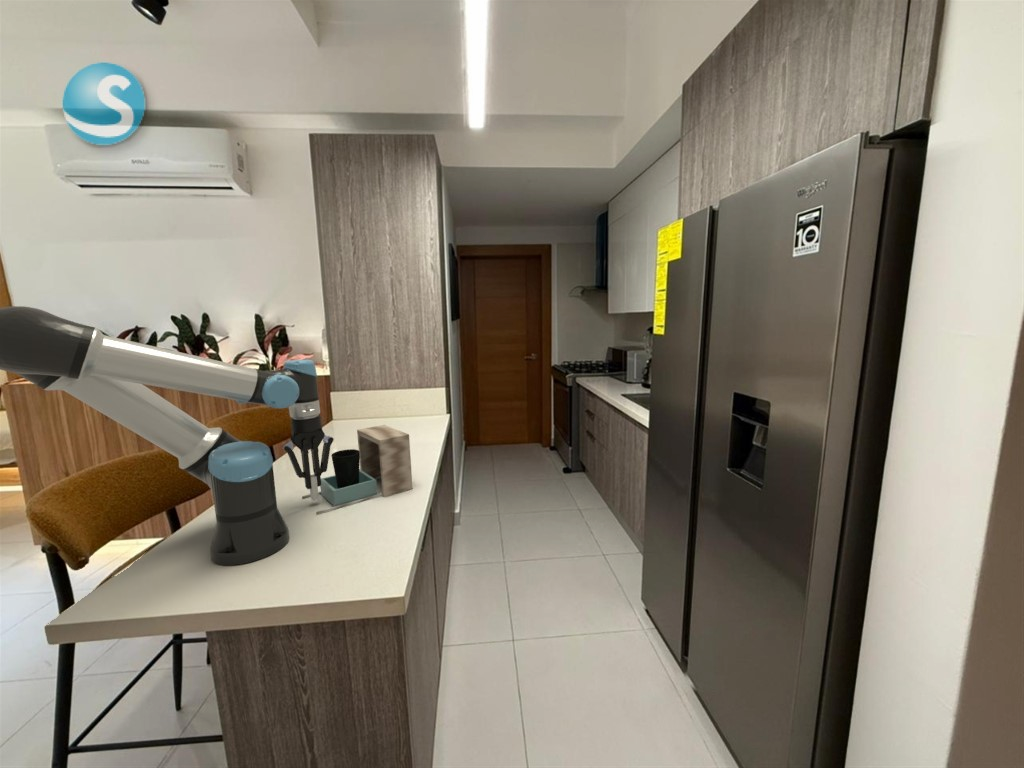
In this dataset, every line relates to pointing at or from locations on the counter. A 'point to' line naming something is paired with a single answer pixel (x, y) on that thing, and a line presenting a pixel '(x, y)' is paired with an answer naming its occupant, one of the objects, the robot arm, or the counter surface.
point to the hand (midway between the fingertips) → (314, 498)
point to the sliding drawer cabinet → (383, 461)
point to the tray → (348, 489)
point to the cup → (346, 467)
